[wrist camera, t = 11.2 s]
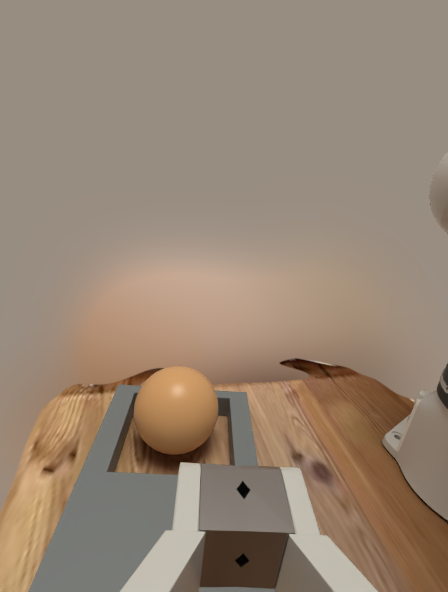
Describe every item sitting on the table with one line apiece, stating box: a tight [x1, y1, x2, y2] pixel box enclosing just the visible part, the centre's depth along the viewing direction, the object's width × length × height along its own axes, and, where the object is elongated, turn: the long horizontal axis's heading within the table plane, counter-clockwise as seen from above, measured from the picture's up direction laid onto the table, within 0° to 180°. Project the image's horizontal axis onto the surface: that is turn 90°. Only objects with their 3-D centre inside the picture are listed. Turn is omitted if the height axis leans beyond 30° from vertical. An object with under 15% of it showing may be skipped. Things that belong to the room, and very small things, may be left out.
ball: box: [134, 366, 218, 455], centre depth 39 cm, size 10×10×10 cm
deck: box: [28, 385, 275, 592], centre depth 33 cm, size 29×18×3 cm, turn 2°
